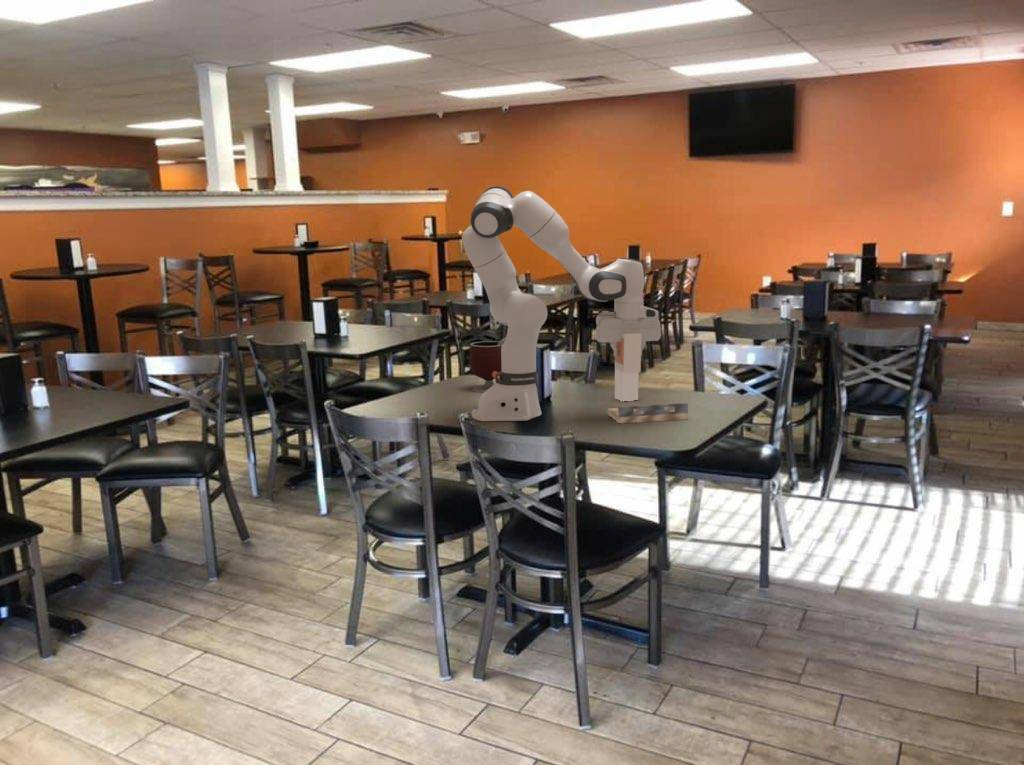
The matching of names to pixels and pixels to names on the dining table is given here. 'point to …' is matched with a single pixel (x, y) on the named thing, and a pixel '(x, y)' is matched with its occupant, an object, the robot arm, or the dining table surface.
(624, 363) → the product box
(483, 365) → the mate gourd
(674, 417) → the display board
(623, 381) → the milk
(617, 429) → the dining table surface
